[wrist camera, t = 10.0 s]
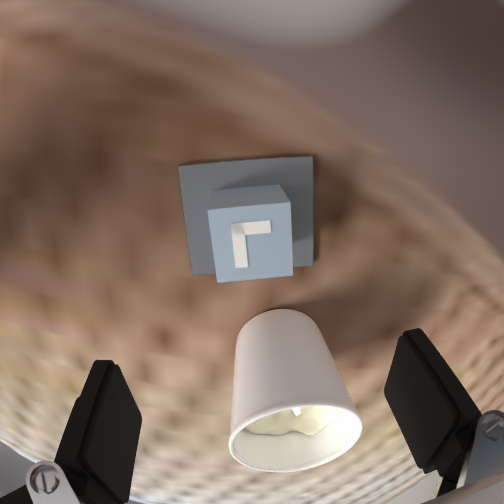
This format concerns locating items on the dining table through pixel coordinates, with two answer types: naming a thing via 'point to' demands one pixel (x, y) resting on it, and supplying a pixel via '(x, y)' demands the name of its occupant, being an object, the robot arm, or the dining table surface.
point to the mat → (238, 176)
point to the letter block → (251, 233)
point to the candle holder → (288, 396)
